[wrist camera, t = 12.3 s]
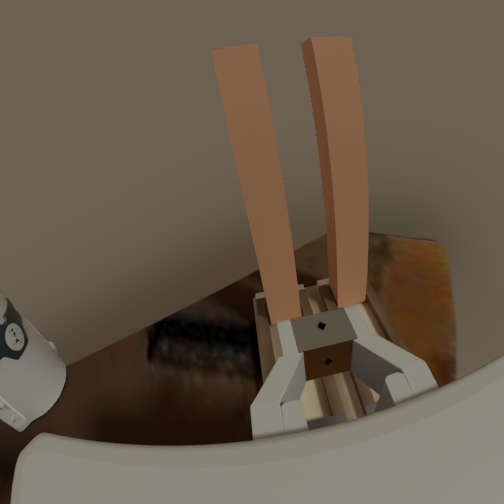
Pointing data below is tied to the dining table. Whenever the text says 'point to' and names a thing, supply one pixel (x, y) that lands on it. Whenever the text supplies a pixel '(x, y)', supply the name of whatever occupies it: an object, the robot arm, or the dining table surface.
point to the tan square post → (340, 162)
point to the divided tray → (333, 386)
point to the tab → (259, 174)
